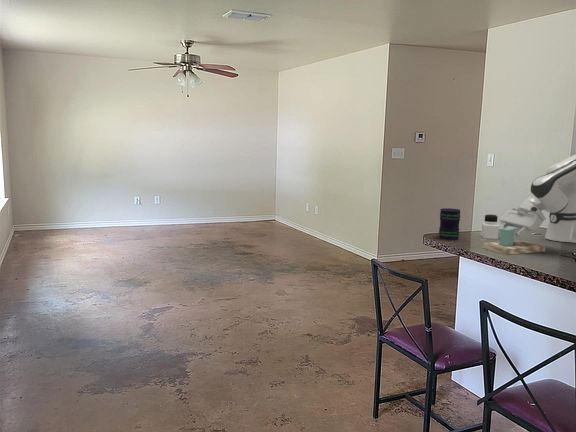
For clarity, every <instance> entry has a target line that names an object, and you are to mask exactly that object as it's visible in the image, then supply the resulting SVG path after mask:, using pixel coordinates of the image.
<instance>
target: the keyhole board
mask: <svg viewBox="0 0 576 432" xmlns="http://www.w3.org/2000/svg"><path fill="white" fill-rule="evenodd" d="M483 249H485V250H488V251H491V252H494V253H498V254H501V255H504V256H506V255H507V256H508V255H521V254H532V253H545V252H546V245H542V244H538V243H535V242H530V241H526V240H522V239H521V240H513V246H510V247H505V246H502V245H500V241H495V242H492V241H491V242H484V243H483Z"/></svg>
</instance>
